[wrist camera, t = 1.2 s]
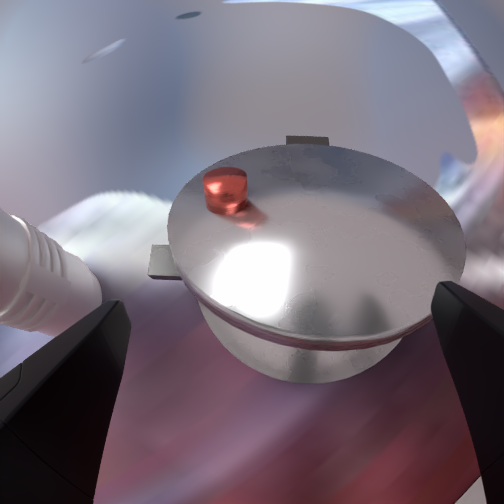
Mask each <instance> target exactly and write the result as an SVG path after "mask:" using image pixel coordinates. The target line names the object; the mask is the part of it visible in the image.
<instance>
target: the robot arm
mask: <svg viewBox="0 0 504 504" xmlns="http://www.w3.org/2000/svg"><path fill="white" fill-rule="evenodd" d="M431 314H432V317H433V320H434V323H435V327H436V330H437V333H438V337H439V340H440V344H441V347H442V351H443V354H444V357H445V360H446V362H447V365H448V368H449V370H450V373H451V376H452V379H453V381H454V384H455V387H456V390H457V393H458V396H459V399H460V402H461V405H462V408H463V411H464V414H465V417H466V421H467V424H468V427H469V431H470V434H471V438H472V441H473V445H474V449H475V453H476V457H477V461H478V465H479V469H480V473H481V479H482V483H483V488H484V493H485V498H486V504H504V310H503V309H501V308H499V307H498V306H496V305H494V304H492V303H491V302H489V301H487V300H485V299H483V298H482V297H480V296H478V295H476V294H474V293H473V292H471V291H469V290H467V289H465V288H463V287H462V286H460V285H458V284H456V283H454V282H452V281H440V282H438V283H437V285H436V288H435V292H434V295H433V299H432V302H431ZM130 332H131V323H130V320H129V317H128V314H127V311H126V309H125V306H124V303H123V302H122V301H121V300H107V301H106V302H104V303H103V304H102V305H100V306H99V307H97V308H96V309H94V310H93V311H92V312H90V313H89V314H87V315H86V316H84V317H83V318H82V319H80V320H79V321H77V322H76V323H75V324H73V325H72V326H70V327H69V328H68V329H66V330H65V331H63V332H62V333H61V334H59V335H58V336H57V337H55V338H54V339H52V340H51V341H50V342H48V343H47V344H46V345H44V346H43V347H42V348H40V349H39V350H37V351H36V352H35V353H33V354H32V355H31V356H29V357H28V358H27V359H25V360H24V361H23V363H20V364H19V365H17V366H16V367H15V368H13V369H12V370H11V371H9V372H8V373H7V374H5V375H4V376H3V377H1V378H0V504H93V501H94V500H93V499H94V495H95V489H96V484H97V479H98V474H99V469H100V464H101V459H102V455H103V450H104V446H105V442H106V437H107V433H108V429H109V425H110V421H111V417H112V413H113V409H114V405H115V401H116V397H117V394H118V390H119V386H120V383H121V379H122V375H123V370H124V365H125V359H126V353H127V348H128V342H129V337H130Z"/></svg>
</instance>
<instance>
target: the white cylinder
mask: <svg viewBox="0 0 504 504" xmlns="http://www.w3.org/2000/svg"><path fill="white" fill-rule="evenodd" d="M100 305H102V290H101V286H100V283H99V281H98V279H97V278H96V276H95V275H94V274H93V273H92V272H91V271H90V270H89V269H88V267H87V265H86V264H85V263H84V262H83V261H82V260H81V259H80V258H79V257H77V256H74V255H72V254H70V253H68V252H66V251H64V250H63V248H62V247H61V246H60V245H59V244H58V243H57V242H56V241H55V240H53V239H51V238H49V237H48V236H47V235H46V234H45V233H43V232H40V231H39V230H38V229H37V228H36V227H35V226H33V225H30V224H29V223H28V222H27V221H26V220H25V219H24V218H21V217H19V216H16V215H14V216H10V215H9V214H8V213H6V212H5V211H4V210H2V209H1V208H0V324H2V325H6V326H9V327H13V328H17V329H21V330H25V331H29V332H32V331H38V332H41V333H44V334H46V335H49V336H53V337H57V336H58V335H59V334H61V333H62V332H63V331H65V330H66V329H68V328H69V327H70V326H72V325H73V324H75V323H76V322H77V321H79V320H80V319H82V318H83V317H84V316H86V315H87V314H89V313H90V312H92V311H93V310H94V309H96V308H97V307H99V306H100Z"/></svg>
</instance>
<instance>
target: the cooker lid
mask: <svg viewBox="0 0 504 504" xmlns="http://www.w3.org/2000/svg"><path fill="white" fill-rule="evenodd" d="M167 229H168V240H169V244H170V247H171V251H172V255H173V258H174V262H175V265H176V268H177V271H178V273H179V274H180V276H181V278H182V280H183V282H184V283H185V285H186V286H187V288H188V289H189V290H190V291H191V293H192V294H193V295H194V296H195V297H196V299H197V300H198V301H199V302H201V303H202V304H203V305H204V306H205V307H206V308H207V309H209V310H210V311H211V312H212V313H213V314H215V315H216V316H218V317H219V318H221V319H222V320H224V321H225V322H227V323H229V324H230V325H232V326H233V327H235V328H238V329H240V330H242V331H244V332H246V333H248V334H250V335H253V336H255V337H257V338H260V339H264V340H267V341H270V342H273V343H276V344H280V345H283V346H289V347H294V348H300V349H306V350H315V351H349V350H360V349H367V348H371V347H375V346H380V345H384V344H388V343H390V342H393V341H396V340H398V339H401V338H403V337H405V336H408V335H410V334H411V333H413V332H415V331H416V330H418V329H420V328H421V327H423V326H424V325H426V324H427V323H428V322H429V321H430V320H432V319H433V317H432V314H431V302H432V299H433V295H434V292H435V288H436V285H437V283H438V282H440V281H452V282H454V283H456V284H458V282H459V279H460V277H461V275H462V273H463V270H464V265H465V260H466V244H465V238H464V234H463V231H462V228H461V225H460V223H459V221H458V219H457V217H456V215H455V214H454V212H453V210H452V209H451V208H450V206H449V205H448V204H447V202H446V201H445V200H444V199H443V198H442V197H441V196H440V195H439V194H438V193H437V192H436V191H435V190H434V189H433V188H432V187H431V186H429V185H428V184H427V183H426V182H424V181H423V180H422V179H420V178H419V177H417V176H416V175H414V174H413V173H411V172H409V171H407V170H406V169H404V168H402V167H400V166H398V165H396V164H394V163H392V162H389V161H387V160H384V159H382V158H379V157H376V156H373V155H370V154H367V153H363V152H359V151H355V150H352V149H346V148H341V147H335V146H328V145H316V144H287V145H276V146H268V147H262V148H258V149H253V150H249V151H246V152H241V153H239V154H236V155H233V156H230V157H228V158H225V159H223V160H220V161H218V162H216V163H214V164H213V165H211V166H209V167H207V168H206V169H204V170H203V171H201V172H200V173H199V174H197V175H196V176H195V177H193V178H192V179H191V180H190V181H189V182H188V183H187V184H186V185H185V186H184V187H183V189H182V190H181V191H180V192H179V193H178V195H177V197H176V199H175V200H174V202H173V204H172V207H171V210H170V213H169V217H168V225H167Z"/></svg>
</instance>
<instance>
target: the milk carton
mask: <svg viewBox="0 0 504 504" xmlns="http://www.w3.org/2000/svg"><path fill="white" fill-rule="evenodd" d="M455 504H486V498H485V493H484V488H483V483H482V479H481V476H480V477H479V478H478V479H477V480H476V482H475V483H474V484H473V485H472V486H471V487H470V488H469V489H468V490H467V491H466V492H465V493H464V494H463V496H462V497H461V498H460V499H459V500H458V501H457V502H456V503H455Z"/></svg>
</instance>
